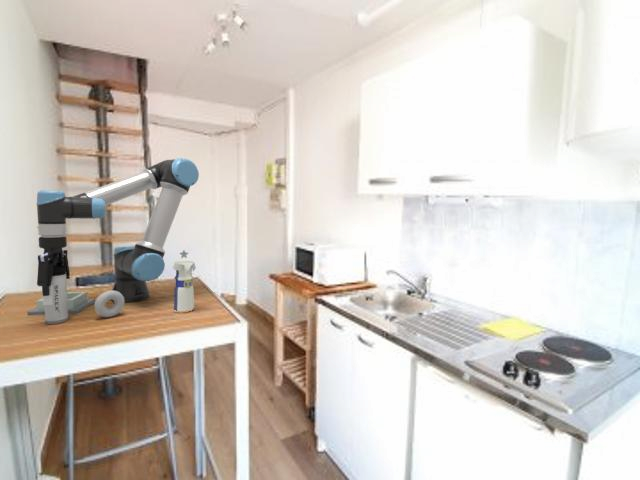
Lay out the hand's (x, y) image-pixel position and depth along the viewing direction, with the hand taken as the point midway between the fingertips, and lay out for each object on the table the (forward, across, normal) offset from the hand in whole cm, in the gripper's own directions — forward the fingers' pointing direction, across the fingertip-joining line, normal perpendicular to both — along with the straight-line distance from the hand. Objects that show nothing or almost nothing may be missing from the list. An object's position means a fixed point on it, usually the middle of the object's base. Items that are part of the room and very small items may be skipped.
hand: (55, 300), depth 119 cm
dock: (+7, -16, -5) cm, 18 cm away
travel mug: (+8, 0, 0) cm, 8 cm away
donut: (+8, -3, +16) cm, 18 cm away
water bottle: (+8, -9, +41) cm, 43 cm away
